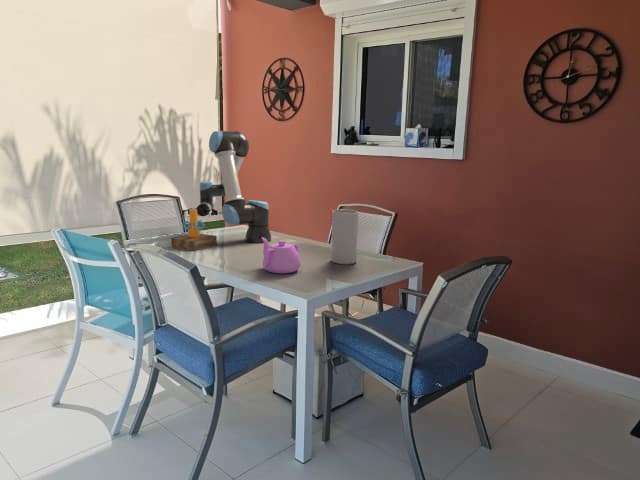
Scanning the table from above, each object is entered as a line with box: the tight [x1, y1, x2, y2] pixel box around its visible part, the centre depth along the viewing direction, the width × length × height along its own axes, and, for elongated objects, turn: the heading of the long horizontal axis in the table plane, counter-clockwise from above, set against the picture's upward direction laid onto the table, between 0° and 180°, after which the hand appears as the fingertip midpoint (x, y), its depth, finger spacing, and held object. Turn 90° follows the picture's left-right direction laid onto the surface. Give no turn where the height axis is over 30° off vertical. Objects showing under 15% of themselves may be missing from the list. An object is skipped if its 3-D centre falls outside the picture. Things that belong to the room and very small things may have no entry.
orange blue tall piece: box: [182, 208, 206, 238], centre depth 266 cm, size 12×10×15 cm
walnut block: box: [170, 233, 218, 252], centre depth 267 cm, size 16×18×5 cm
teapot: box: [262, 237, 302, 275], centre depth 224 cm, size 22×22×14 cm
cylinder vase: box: [330, 209, 359, 265], centre depth 239 cm, size 12×12×25 cm
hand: (197, 214), depth 275 cm, fingers open, 13 cm apart
